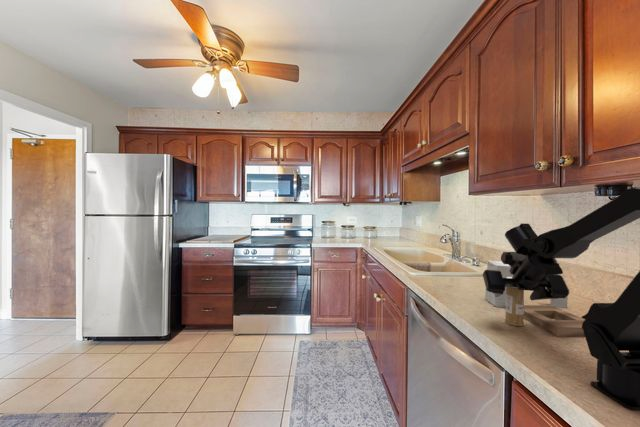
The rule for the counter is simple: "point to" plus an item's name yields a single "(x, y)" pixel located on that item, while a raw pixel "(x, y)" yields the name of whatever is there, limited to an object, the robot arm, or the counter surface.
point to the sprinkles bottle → (514, 306)
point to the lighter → (559, 302)
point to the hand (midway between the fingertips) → (512, 297)
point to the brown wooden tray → (561, 326)
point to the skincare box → (505, 273)
